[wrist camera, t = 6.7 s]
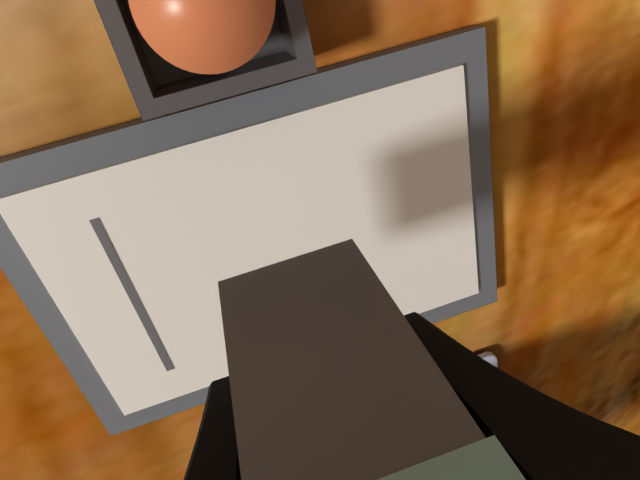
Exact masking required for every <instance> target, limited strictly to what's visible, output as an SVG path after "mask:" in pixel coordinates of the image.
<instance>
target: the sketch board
mask: <svg viewBox="0 0 640 480" xmlns="http://www.w3.org/2000/svg"><path fill="white" fill-rule="evenodd" d="M349 239H353V241H354V242H355V244H356V245H357V247H358V248H359V250H360V251H361V253H362V254H363V256H364V257H365V259H366V260H367V262H368V263H369V265H370V266H371V268H372V269H373V271H374V272H375V274H376V275H377V277H378V278H379V279H380V281H381V282H382V284H383V285H384V287H385V288H386V290H387V291H388V293H389V294H390V296H391V297H392V299H393V300H394V302H395V303H396V305H397V306H398V308H399V309H400V311H401V312H402V314H403V315H407V314H409V313H412V312H416V313H418V314H420V315H421V316H423V317H424V318H425V319H427V320H428V321H429V322H431V323H432V324H433V323H436V322H439V321H442V320H444V319H447V318H450V317H453V316H456V315H459V314H462V313H464V312H467V311H470V310H473V309H476V308H479V307H482V306H484V305H487V304H490V303H493V302H496V301H497V281H496V258H495V235H494V212H493V189H492V166H491V144H490V121H489V98H488V75H487V52H486V29H485V27H484V26H476V25H472V26H469V27H465V28H462V29H458V30H454V31H451V32H447V33H444V34H440V35H437V36H433V37H429V38H426V39H422V40H419V41H415V42H412V43H408V44H404V45H401V46H397V47H394V48H390V49H387V50H383V51H379V52H376V53H372V54H369V55H365V56H361V57H358V58H354V59H351V60H347V61H344V62H340V63H336V64H333V65H329V66H326V67H322V68H319V69H317V72H316V73H312V74H309V75H305V76H302V77H298V78H294V79H291V80H287V81H284V82H280V83H277V84H273V85H269V86H266V87H262V88H259V89H255V90H252V91H248V92H245V93H241V94H237V95H234V96H230V97H227V98H223V99H220V100H216V101H212V102H209V103H205V104H202V105H198V106H195V107H191V108H187V109H184V110H180V111H177V112H173V113H170V114H166V115H163V116H159V117H155V118H152V119H148V120H145V121H143V120H142V118H140V119H136V120H133V121H129V122H126V123H122V124H118V125H115V126H111V127H108V128H104V129H101V130H97V131H93V132H90V133H86V134H83V135H79V136H76V137H72V138H68V139H65V140H61V141H58V142H54V143H50V144H47V145H43V146H40V147H36V148H33V149H29V150H25V151H22V152H18V153H15V154H11V155H8V156H4V157H0V267H1V269H2V270H3V272H4V273H5V275H6V276H7V278H8V279H9V281H10V282H11V284H12V286H13V287H14V289H15V290H16V292H17V293H18V295H19V296H20V298H21V299H22V301H23V302H24V304H25V305H26V307H27V308H28V310H29V311H30V313H31V314H32V316H33V318H34V319H35V321H36V322H37V324H38V325H39V327H40V328H41V330H42V331H43V333H44V334H45V336H46V337H47V339H48V340H49V342H50V343H51V345H52V347H53V348H54V350H55V351H56V353H57V354H58V356H59V357H60V359H61V360H62V362H63V363H64V365H65V366H66V368H67V369H68V371H69V372H70V374H71V376H72V377H73V379H74V380H75V382H76V383H77V385H78V386H79V388H80V389H81V391H82V392H83V394H84V395H85V397H86V398H87V400H88V401H89V403H90V404H91V406H92V408H93V409H94V411H95V412H96V414H97V415H98V417H99V418H100V420H101V421H102V423H103V424H104V426H105V427H106V429H107V430H108V432H109V433H110V435H111V436H112V435H115V434H118V433H121V432H124V431H127V430H129V429H132V428H135V427H138V426H141V425H144V424H147V423H149V422H152V421H155V420H158V419H161V418H164V417H167V416H170V415H172V414H175V413H178V412H181V411H184V410H187V409H190V408H192V407H195V406H198V405H201V404H204V403H206V399H207V394H208V389H209V386H210V384H211V383H212V381H215V380H218V379H221V378H224V377H227V376H229V372H228V364H227V356H226V347H225V339H224V330H223V322H222V313H221V305H220V297H219V288H218V282H219V281H222V280H225V279H228V278H231V277H234V276H237V275H240V274H243V273H247V272H250V271H253V270H256V269H259V268H262V267H265V266H268V265H271V264H275V263H278V262H281V261H284V260H287V259H290V258H293V257H296V256H299V255H303V254H306V253H309V252H312V251H315V250H318V249H321V248H324V247H327V246H331V245H334V244H337V243H340V242H343V241H346V240H349Z"/></svg>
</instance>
